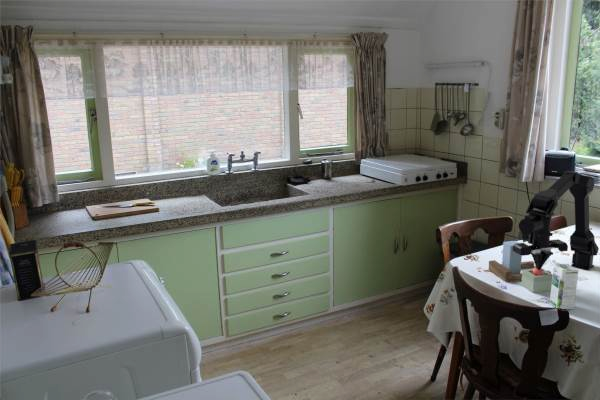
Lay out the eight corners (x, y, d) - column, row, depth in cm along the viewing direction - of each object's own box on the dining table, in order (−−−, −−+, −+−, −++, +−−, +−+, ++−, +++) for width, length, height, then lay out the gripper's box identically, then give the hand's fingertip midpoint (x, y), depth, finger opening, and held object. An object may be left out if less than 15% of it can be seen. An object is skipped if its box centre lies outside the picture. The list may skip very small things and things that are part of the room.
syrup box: (548, 303, 178) (552, 264, 175) (565, 302, 179) (569, 263, 175) (558, 311, 173) (562, 270, 169) (574, 309, 173) (579, 269, 170)
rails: (531, 265, 212) (532, 261, 211) (550, 276, 200) (551, 271, 200) (494, 269, 209) (494, 265, 209) (511, 281, 198) (511, 276, 197)
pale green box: (540, 283, 195) (541, 268, 193) (552, 290, 188) (553, 275, 187) (521, 285, 194) (522, 270, 192) (532, 292, 187) (533, 277, 185)
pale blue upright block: (512, 271, 207) (515, 240, 204) (520, 276, 202) (522, 244, 199) (501, 272, 206) (503, 241, 203) (508, 277, 201) (510, 245, 198)
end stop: (494, 269, 209) (494, 260, 208) (511, 281, 198) (511, 271, 197) (488, 270, 209) (489, 260, 208) (505, 281, 197) (505, 272, 196)
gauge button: (538, 274, 192) (539, 267, 191) (545, 278, 188) (545, 270, 188) (530, 275, 191) (530, 267, 191) (536, 279, 188) (536, 271, 187)
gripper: (550, 220, 195) (547, 259, 198) (505, 224, 191) (502, 264, 195) (570, 229, 184) (566, 269, 188) (523, 233, 181) (520, 275, 185)
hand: (538, 269), depth 189 cm, fingers closed, pressing on gauge button
